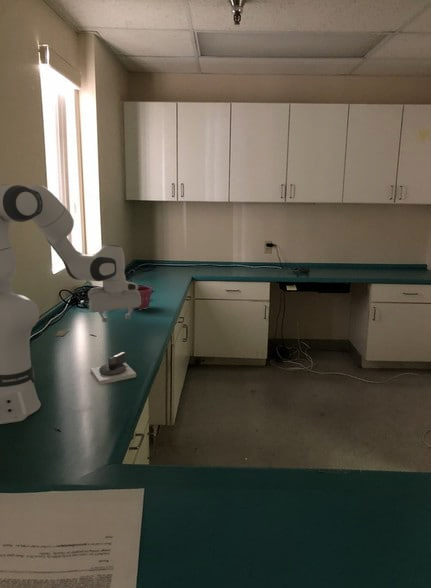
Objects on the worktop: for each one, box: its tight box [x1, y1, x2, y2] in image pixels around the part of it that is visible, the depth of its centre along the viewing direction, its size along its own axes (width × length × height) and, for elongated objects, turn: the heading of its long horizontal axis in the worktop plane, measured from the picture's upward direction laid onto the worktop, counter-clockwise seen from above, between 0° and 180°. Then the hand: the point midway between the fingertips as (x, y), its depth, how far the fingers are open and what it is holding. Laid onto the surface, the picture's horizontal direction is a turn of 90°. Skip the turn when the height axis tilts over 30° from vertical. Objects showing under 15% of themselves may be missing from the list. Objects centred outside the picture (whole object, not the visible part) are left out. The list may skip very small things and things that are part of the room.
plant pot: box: [133, 285, 153, 309], centre depth 273 cm, size 14×14×13 cm
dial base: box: [90, 362, 137, 385], centre depth 173 cm, size 14×14×2 cm
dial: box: [99, 351, 127, 375], centre depth 173 cm, size 12×10×5 cm
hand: (116, 320), depth 176 cm, fingers open, 8 cm apart
